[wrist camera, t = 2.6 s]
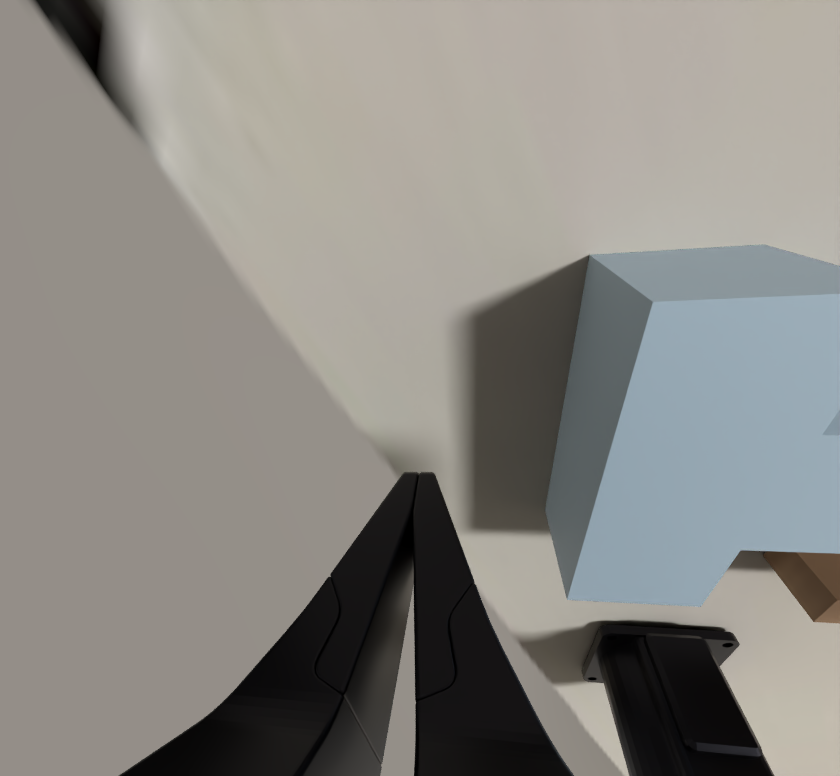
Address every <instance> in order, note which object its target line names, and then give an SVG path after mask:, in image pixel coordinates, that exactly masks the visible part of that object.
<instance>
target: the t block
mask: <svg viewBox="0 0 840 776" xmlns="http://www.w3.org/2000/svg"><path fill="white" fill-rule="evenodd" d="M545 512H546V516H547V520H548V524H549V528H550V532H551V536H552V540H553V545H554V549H555V553H556V557H557V561H558V565H559V569H560V573H561V577H562V581H563V585H564V589H565V593H566V597H567V600H582V601H601V602H620V603H639V604H659V605H678V606H697V607H701V606H702V604H703V603H704V601H705V600H706V599H707V597H708V596H709V594H710V593H711V591H712V590H713V589H714V587H715V586H716V584H717V583H718V582H719V580H720V579H721V577H722V576H723V574H724V573H725V572H726V570H727V569H728V567H729V566H730V565H731V563H732V562H733V560H734V559H735V558H736V556H737V555H738V553H739V552H740V550H747V551H776V552H806V553H835V554H840V266H838V265H834V264H831V263H827V262H824V261H820V260H817V259H813V258H810V257H806V256H803V255H799V254H796V253H792V252H789V251H785V250H782V249H778V248H775V247H771V246H768V245H747V246H731V247H714V248H697V249H680V250H663V251H646V252H630V253H613V254H596V255H589V261H588V267H587V272H586V278H585V284H584V290H583V295H582V301H581V307H580V313H579V318H578V324H577V330H576V335H575V341H574V347H573V353H572V358H571V364H570V370H569V376H568V381H567V387H566V393H565V399H564V404H563V410H562V416H561V422H560V427H559V433H558V439H557V444H556V450H555V456H554V462H553V467H552V473H551V479H550V485H549V490H548V496H547V502H546V508H545Z"/></svg>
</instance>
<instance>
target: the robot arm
mask: <svg viewBox="0 0 840 776" xmlns="http://www.w3.org/2000/svg"><path fill="white" fill-rule="evenodd" d="M413 584H414V633H415V697H416V698H415V700H416V743H415V745H416V746H415V768H414V776H574V775H573V773H572V772H571V771H570V769H569V768H568V766H567V765H566V763H565V762H564V761H563V759H562V758H561V756H560V755H559V753H558V752H557V750H556V748H555V747H554V745H553V743H552V741H551V740H550V738H549V736H548V735H547V733H546V731H545V729H544V728H543V726H542V724H541V722H540V720H539V718H538V716H537V715H536V713H535V711H534V709H533V707H532V705H531V703H530V701H529V699H528V697H527V695H526V693H525V691H524V689H523V687H522V685H521V683H520V681H519V680H518V678H517V676H516V674H515V672H514V670H513V668H512V666H511V664H510V662H509V660H508V658H507V656H506V654H505V652H504V650H503V648H502V646H501V644H500V642H499V640H498V638H497V635H496V633H495V631H494V629H493V627H492V625H491V623H490V620H489V618H488V615H487V613H486V610H485V608H484V606H483V603H482V600H481V598H480V595H479V592H478V590H477V587H476V585H475V584H474V579H473V576H472V574H471V571H470V568H469V566H468V563H467V560H466V557H465V555H464V552H463V549H462V547H461V544H460V541H459V538H458V536H457V533H456V530H455V528H454V525H453V522H452V519H451V517H450V514H449V511H448V509H447V506H446V503H445V500H444V498H443V495H442V492H441V490H440V487H439V484H438V481H437V479H436V476H435V474H434V473H433V472H421V473H420V474H419V473H417V472H405V473H403V474H402V476H401V477H400V478H399V480H398V481H397V483H396V484H395V485H394V487H393V488H392V490H391V491H390V492H389V494H388V495H387V497H386V498H385V499H384V501H383V502H382V503H381V505H380V506H379V508H378V509H377V510H376V512H375V513H374V515H373V516H372V517H371V519H370V520H369V522H368V523H367V524H366V526H365V527H364V528H363V530H362V531H361V533H360V534H359V535H358V537H357V538H356V540H355V541H354V542H353V544H352V545H351V547H350V548H349V549H348V551H347V552H346V554H345V555H344V556H343V558H342V559H341V560H340V562H339V563H338V565H337V566H336V567H335V569H334V570H333V572H332V573H331V577H328V578H327V580H326V581H325V583H324V584H323V585H322V586H321V588H320V589H319V591H318V592H317V593H316V595H315V596H314V597H313V599H312V600H311V601H310V603H309V604H308V605H307V606H306V608H305V609H304V610H303V612H302V613H301V614H300V615H299V616H298V618H297V619H296V620H295V621H294V622H293V624H292V625H291V626H290V627H289V628H288V629H287V631H286V632H285V633H284V634H283V635H282V637H281V638H280V639H279V640H278V641H277V642H276V643H275V644H274V646H273V647H272V648H271V649H270V650H269V651H268V652H267V654H266V655H265V656H264V657H263V658H262V659H261V661H260V662H259V663H258V664H257V665H256V666H255V668H253V670H252V671H251V672H250V673H249V674H248V675H247V676H246V678H245V679H244V680H243V681H242V682H241V683H240V684H239V686H238V687H237V688H236V689H235V690H234V691H233V692H232V693H231V694H230V695H229V696H228V697H227V698H226V699H225V700H224V701H223V702H222V703H221V704H220V705H219V706H218V707H217V708H216V709H214V710H213V711H212V712H211V713H210V714H208V715H207V716H206V717H205V718H204V719H202V720H201V721H199V722H198V723H196V724H195V725H193V726H192V727H190V728H189V729H187V730H186V731H185V732H183V733H182V734H180V735H179V736H177V737H176V738H174V739H173V740H171V741H170V742H168V743H167V744H165V745H164V746H162V747H161V748H159V749H158V750H156V751H155V752H153V753H152V754H150V755H149V756H147V757H146V758H145V759H143V760H141V761H140V762H138V763H137V764H135V765H134V766H133V767H131V768H130V769H128V770H127V771H125V772H124V773H122V774H121V775H119V776H380V773H381V768H382V767H381V764H382V762H383V756H384V750H385V744H386V738H387V733H388V727H389V721H390V716H391V710H392V704H393V698H394V692H395V687H396V681H397V675H398V669H399V663H400V658H401V653H402V647H403V641H404V635H405V630H406V624H407V618H408V612H409V607H410V601H411V595H412V589H413ZM738 646H739V642H738V641H737V639H736V637H735V635H734V634H733V633H731V632H724V631H707V630H691V629H674V628H657V627H640V626H624V625H604V626H602V627H600V628H599V630H598V633H597V635H596V638H595V640H594V642H593V645H592V647H591V649H590V652H589V654H588V657H587V659H586V661H585V664H584V666H583V668H582V674H583V678H584V680H585V681H588V682H597V683H604V686H605V689H606V693H607V696H608V700H609V704H610V707H611V711H612V714H613V718H614V722H615V725H616V729H617V732H618V736H619V740H620V743H621V747H622V751H623V754H624V758H625V761H626V765H627V769H628V772H629V776H774V774H773V772H772V770H771V768H770V766H769V764H768V763H767V761H766V759H765V757H764V755H763V753H762V749H761V746H760V744H759V743H758V741H757V739H756V737H755V735H754V733H753V731H752V729H751V727H750V725H749V723H748V721H747V719H746V717H745V715H744V713H743V711H742V709H741V707H740V706H739V704H738V702H737V700H736V698H735V696H734V694H733V692H732V690H731V688H730V686H729V684H728V682H727V680H726V678H725V676H724V674H723V672H722V670H721V668H720V667H719V666H720V665H721V664H722V663H723V662H724V661H725V660H726V659H727V658H728V657H729V656H730V655H731V654H732V653H733V652H734V650H735V649H736V648H737V647H738Z"/></svg>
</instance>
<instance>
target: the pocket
mask: <svg viewBox="0 0 840 776" xmlns="http://www.w3.org/2000/svg"><path fill="white" fill-rule="evenodd" d="M763 556H764V558H765V559H766V560H767V561H768V563H769V564H770V565H771V567H772V568H773V569H774V571H775V572H776V573H777V575H778V576H779V577H780V578H781V580H782V581H783V582H784V584H785V585H786V586H787V588H788V589H789V590H790V592H791V593H792V594H793V595H794V597H795V598H796V599H797V601H798V602H799V603H800V605H801V606H802V607H803V608H804V610H805V611H806V612H807V614H808V615H809V616H810V618H811V619H812V620H813V622H826V623H840V554H835V553H806V552H776V551H766V552H765V554H764V555H763Z"/></svg>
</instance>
